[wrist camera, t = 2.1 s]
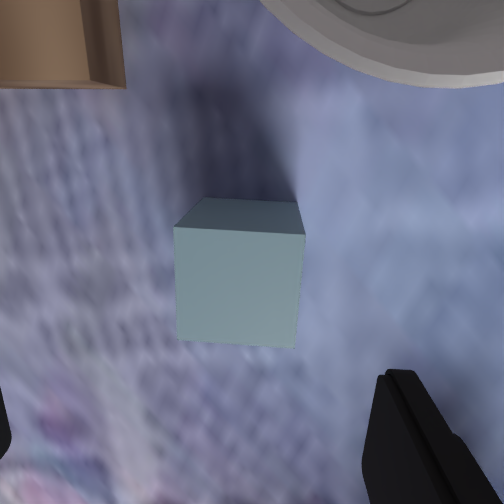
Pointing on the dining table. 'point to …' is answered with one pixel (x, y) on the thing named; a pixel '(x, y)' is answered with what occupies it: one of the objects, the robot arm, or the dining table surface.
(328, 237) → the dining table surface
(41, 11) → the tan flat block
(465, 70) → the teacup
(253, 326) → the slate block
